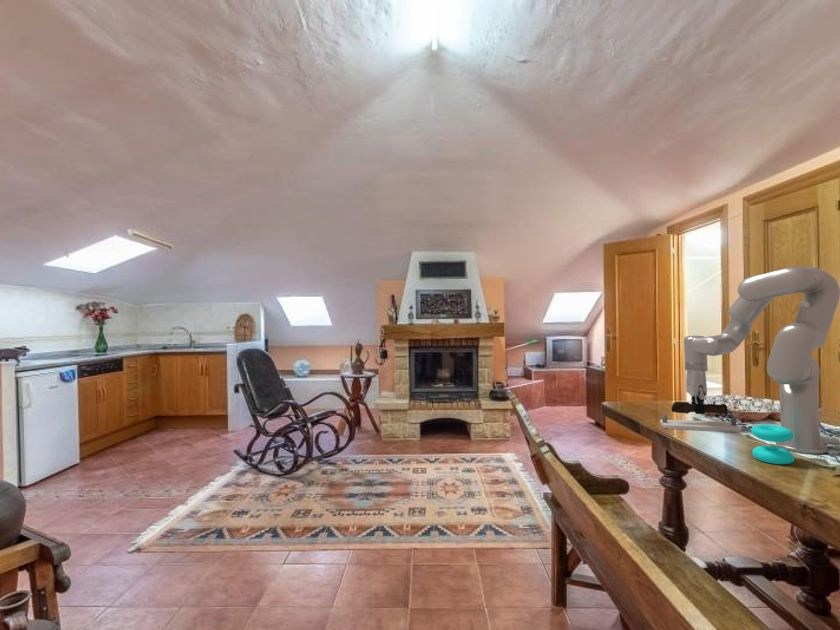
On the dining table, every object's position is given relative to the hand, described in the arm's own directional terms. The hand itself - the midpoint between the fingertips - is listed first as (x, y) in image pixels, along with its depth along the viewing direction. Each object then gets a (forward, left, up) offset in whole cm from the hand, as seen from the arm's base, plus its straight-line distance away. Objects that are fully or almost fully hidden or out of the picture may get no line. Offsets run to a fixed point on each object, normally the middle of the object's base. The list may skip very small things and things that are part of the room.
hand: (698, 412), depth 164 cm
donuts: (-10, +35, -6) cm, 37 cm away
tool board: (0, 0, -6) cm, 6 cm away
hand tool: (0, +1, -1) cm, 1 cm away
